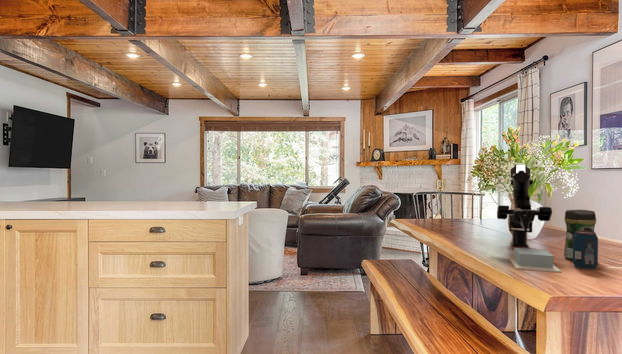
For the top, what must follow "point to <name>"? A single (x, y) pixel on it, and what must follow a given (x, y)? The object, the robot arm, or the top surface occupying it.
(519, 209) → the robot arm
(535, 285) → the top surface
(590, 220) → the coffee jar
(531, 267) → the beige square plate
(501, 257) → the top surface
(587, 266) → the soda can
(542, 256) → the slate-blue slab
